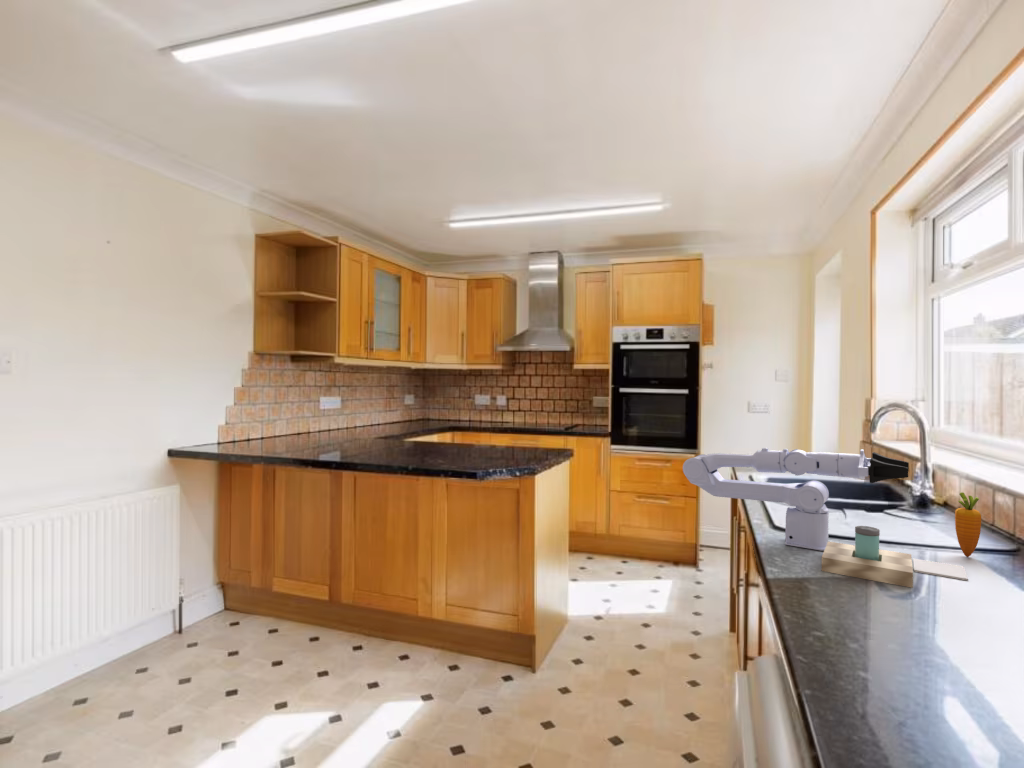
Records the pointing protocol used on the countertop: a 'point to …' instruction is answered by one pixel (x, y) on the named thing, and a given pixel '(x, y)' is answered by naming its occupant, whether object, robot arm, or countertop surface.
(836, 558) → the tan board with hole
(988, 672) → the countertop surface
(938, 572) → the mat
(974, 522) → the carrot
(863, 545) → the plug
